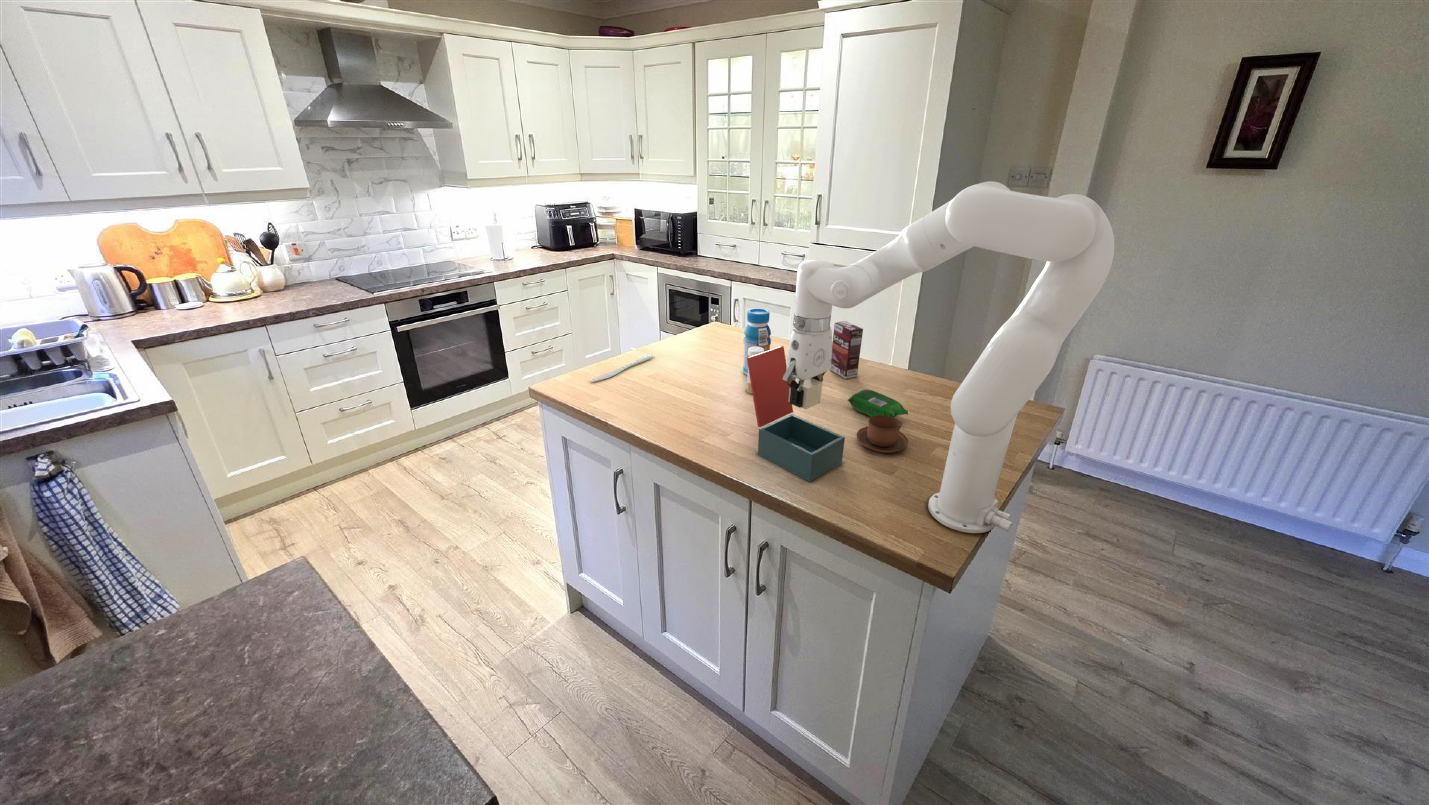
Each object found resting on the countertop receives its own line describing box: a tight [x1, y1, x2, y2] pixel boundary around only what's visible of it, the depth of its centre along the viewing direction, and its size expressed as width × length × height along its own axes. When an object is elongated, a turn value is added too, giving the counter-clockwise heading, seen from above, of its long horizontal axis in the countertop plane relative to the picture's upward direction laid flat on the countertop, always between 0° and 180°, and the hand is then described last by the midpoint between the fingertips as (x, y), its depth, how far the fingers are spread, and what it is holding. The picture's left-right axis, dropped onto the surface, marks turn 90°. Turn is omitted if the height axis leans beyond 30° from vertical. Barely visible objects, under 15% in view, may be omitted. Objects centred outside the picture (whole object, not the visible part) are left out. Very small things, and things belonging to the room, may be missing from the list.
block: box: [788, 378, 823, 410], centre depth 120 cm, size 5×5×5 cm
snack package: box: [847, 388, 909, 419], centre depth 147 cm, size 7×16×5 cm, turn 35°
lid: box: [747, 345, 794, 428], centre depth 127 cm, size 16×12×1 cm
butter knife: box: [590, 355, 654, 383], centre depth 176 cm, size 1×27×3 cm
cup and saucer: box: [856, 415, 909, 454], centre depth 132 cm, size 12×12×6 cm
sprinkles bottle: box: [746, 346, 764, 395], centre depth 158 cm, size 5×5×13 cm
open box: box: [757, 413, 846, 483], centre depth 126 cm, size 16×12×7 cm
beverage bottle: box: [742, 307, 772, 376], centre depth 170 cm, size 8×8×20 cm
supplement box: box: [829, 320, 864, 380], centre depth 170 cm, size 9×5×16 cm, turn 25°
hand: (804, 400), depth 121 cm, fingers closed on block, 5 cm apart
